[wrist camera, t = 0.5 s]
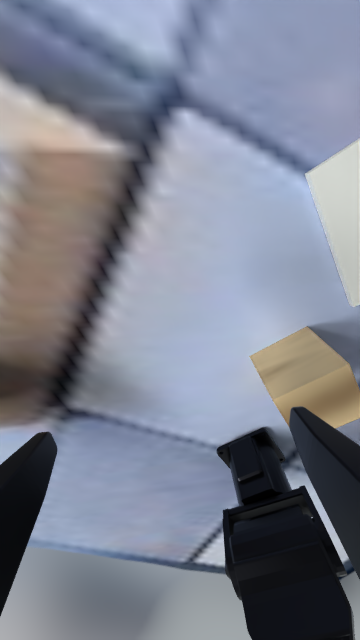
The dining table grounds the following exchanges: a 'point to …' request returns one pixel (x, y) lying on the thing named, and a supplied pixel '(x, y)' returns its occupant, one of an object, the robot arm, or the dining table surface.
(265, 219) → the dining table surface
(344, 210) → the cream pad
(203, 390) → the dining table surface
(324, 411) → the wood cube
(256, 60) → the dining table surface
